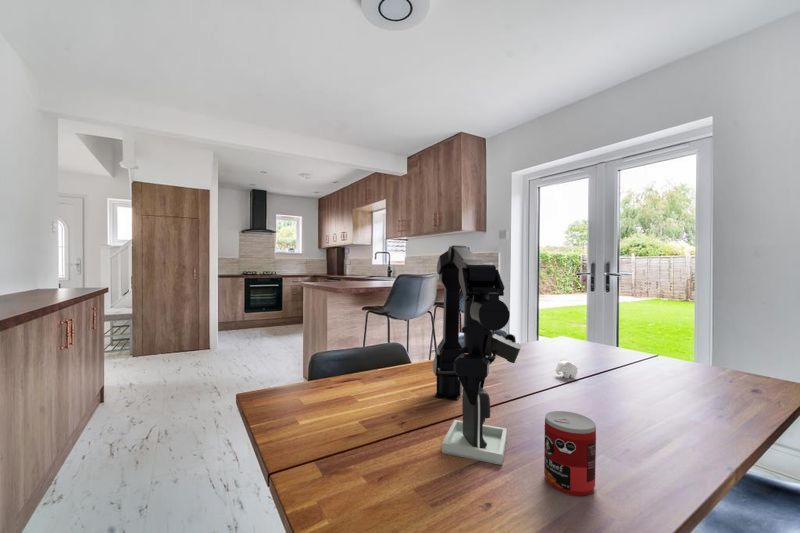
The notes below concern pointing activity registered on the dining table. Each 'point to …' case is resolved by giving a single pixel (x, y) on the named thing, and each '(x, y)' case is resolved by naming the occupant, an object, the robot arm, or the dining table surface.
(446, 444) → the shallow rectangular tray
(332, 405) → the dining table surface
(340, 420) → the dining table surface
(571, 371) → the elephant figurine
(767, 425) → the dining table surface
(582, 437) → the canned food
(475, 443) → the battery charger
